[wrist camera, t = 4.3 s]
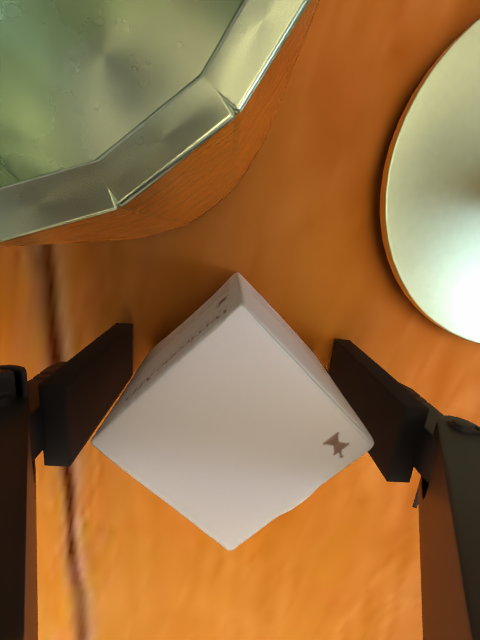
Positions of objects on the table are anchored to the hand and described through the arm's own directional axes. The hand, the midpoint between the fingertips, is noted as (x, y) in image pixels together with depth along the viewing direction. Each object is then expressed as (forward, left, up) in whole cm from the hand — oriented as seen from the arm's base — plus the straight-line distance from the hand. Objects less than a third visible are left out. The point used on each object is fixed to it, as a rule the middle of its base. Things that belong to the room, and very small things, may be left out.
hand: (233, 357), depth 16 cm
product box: (0, 0, 0) cm, 0 cm away
